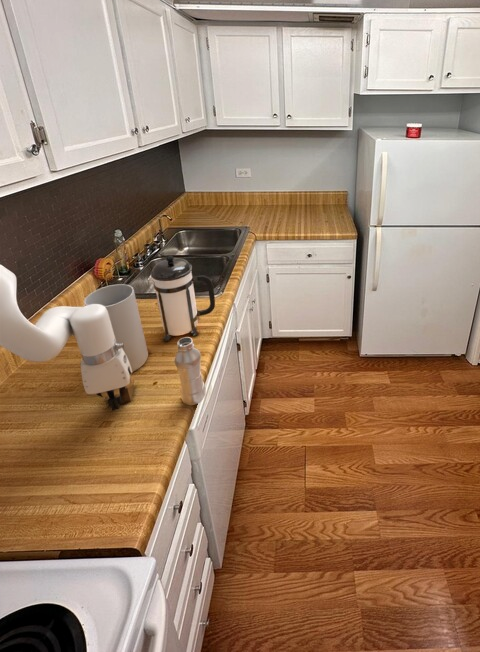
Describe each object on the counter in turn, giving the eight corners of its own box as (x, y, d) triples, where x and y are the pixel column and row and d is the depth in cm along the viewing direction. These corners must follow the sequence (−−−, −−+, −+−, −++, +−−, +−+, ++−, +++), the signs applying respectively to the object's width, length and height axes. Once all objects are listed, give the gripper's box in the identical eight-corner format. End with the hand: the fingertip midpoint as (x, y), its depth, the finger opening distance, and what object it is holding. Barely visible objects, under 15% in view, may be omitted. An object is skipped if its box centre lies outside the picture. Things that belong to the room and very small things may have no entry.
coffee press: (179, 350, 111) (165, 271, 100) (150, 333, 119) (134, 258, 108) (219, 323, 125) (210, 251, 114) (190, 309, 132) (180, 241, 121)
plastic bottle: (188, 388, 96) (178, 332, 89) (210, 390, 96) (202, 334, 88) (177, 407, 90) (165, 349, 83) (201, 409, 90) (191, 351, 82)
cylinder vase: (129, 344, 113) (113, 281, 104) (157, 354, 109) (143, 288, 100) (94, 370, 102) (73, 302, 93) (124, 382, 98) (105, 311, 89)
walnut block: (110, 406, 90) (106, 392, 89) (114, 392, 95) (110, 379, 93) (131, 401, 92) (127, 388, 90) (134, 388, 96) (130, 374, 95)
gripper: (135, 335, 88) (148, 387, 95) (69, 348, 83) (88, 402, 90) (131, 354, 81) (145, 409, 88) (59, 370, 77) (80, 426, 84)
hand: (116, 405), depth 89 cm, fingers closed
